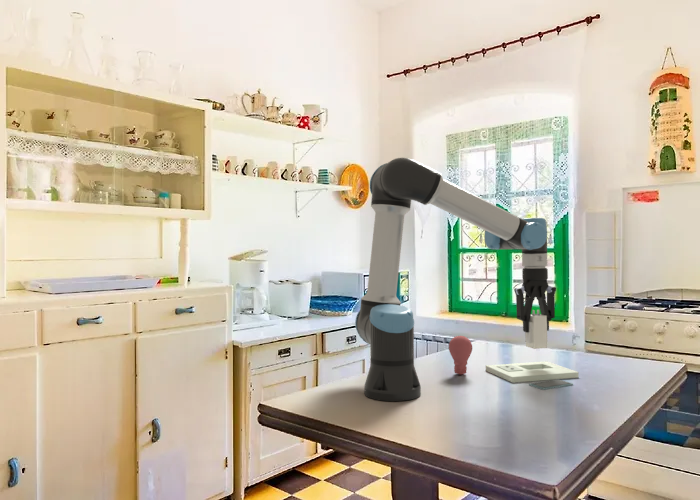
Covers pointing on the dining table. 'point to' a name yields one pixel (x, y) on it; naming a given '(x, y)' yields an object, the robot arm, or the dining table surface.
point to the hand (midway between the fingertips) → (536, 341)
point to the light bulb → (460, 353)
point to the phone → (550, 384)
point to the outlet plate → (531, 371)
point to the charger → (538, 331)
